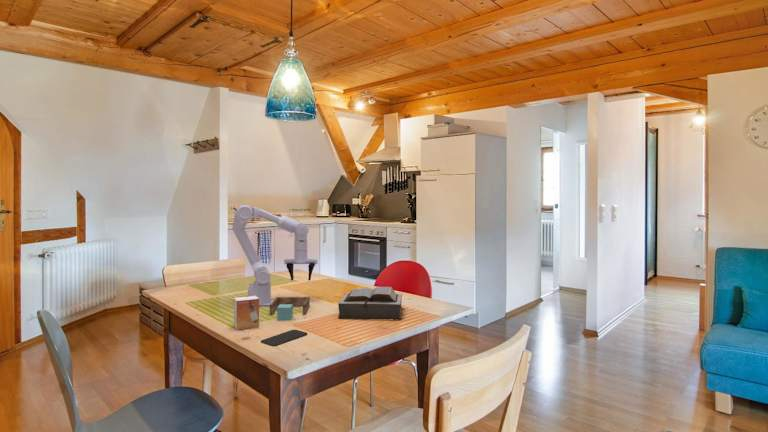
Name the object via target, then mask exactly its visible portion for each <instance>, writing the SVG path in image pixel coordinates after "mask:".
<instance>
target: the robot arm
mask: <svg viewBox="0 0 768 432" xmlns="http://www.w3.org/2000/svg"><path fill="white" fill-rule="evenodd" d="M233 216H234V217H233V221H232V222H233V223H232V226H231V227H232V231H233V233H234V235H235V237H236V239H237V240H238V243H239V246H241V248H242V250H243V252H244V254H245V256H246V258H247V260H248V263H249V264H250V266H251V268H252V271H253V275H254V278H255V280H254V281H253V283H249V285H248V287H247V297H249V296H257V297H258V298H259V307H260V306H267V307H268V306H269V307H270V304H271V303H272V302H273V301H274V299H272V282H271V277H272V275H271V273H270V271H269V270H268V268H267V267H266V266H265V265H263V262H262V261H261V259H260V256H259V254H258V253H257V251H256V249H255V247H254V245H253V243H252V241H251V239H250V238H249V235H248V234H247V231H246V229H245V228H246V226H247V223H248V221H249V220H250V219H251V218H253V219H255V218H261V219H264V220H266V221H269V222H272V223H274V224H276V225H277V227H278V228H279V229H281V230H284V231H286V232H289V233H291V234H294V241H293V242H294V245H293V249H294V254H293V256H294V257H293V258H289V259H287V258H285V259H283V264H284V265H286V266H285V267H286V268H287V271H288V273H289V276H290V281H294V265H308V266H307V267H308V281H311V278H312V274H313V272H314V268H315V266H316V265H318V258H317V259H315V258H314V259H313V258H311V259H310V258H308V233H309V231H310V230H309V228H308V225H307V224H305V223H302V221H301V222H300V220H298V219H297V220H295V219H293V218H290V216H288V215H286V216H285V215H282V216H278V215H275V214H273V213H270V212H269V211H266V210H264V209H263V208H262V209H261V208H260V207H257V206H256V207H254V206H253V205H252V206H250V205H247V204H241V205H239V206H238V207H237V208H236V211H235V212H234V214H233Z"/></svg>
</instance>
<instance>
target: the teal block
mask: <svg viewBox="0 0 768 432" xmlns="http://www.w3.org/2000/svg"><path fill="white" fill-rule="evenodd" d="M293 308H294V307H293V304H280V305H279V306H278V307H277V309H276V311H277V313H276V316H277V317H276V318H277V319H276V320H277V321H280V322H281V321H291V320H292V319H293V317H294V316H293V315H294V312H293V311H294V310H293Z"/></svg>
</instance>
